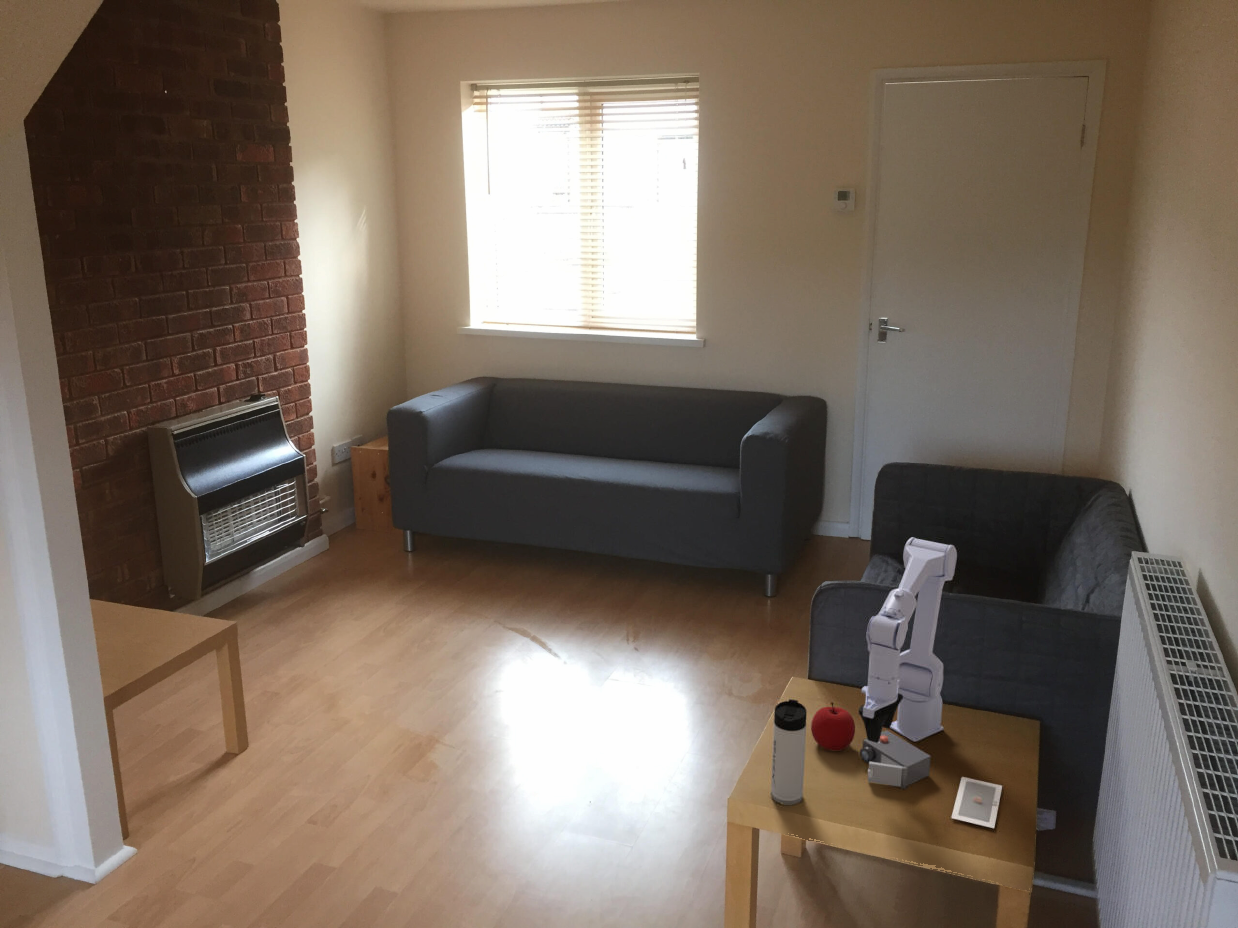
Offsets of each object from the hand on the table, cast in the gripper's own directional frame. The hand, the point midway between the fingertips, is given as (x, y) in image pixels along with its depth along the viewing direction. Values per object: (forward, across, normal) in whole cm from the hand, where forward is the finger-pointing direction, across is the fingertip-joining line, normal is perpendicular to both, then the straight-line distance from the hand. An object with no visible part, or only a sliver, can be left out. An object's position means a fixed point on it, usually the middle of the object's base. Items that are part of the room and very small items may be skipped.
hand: (878, 733), depth 213 cm
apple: (+11, -6, -12) cm, 18 cm away
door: (+10, +1, +3) cm, 11 cm away
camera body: (+10, -6, +2) cm, 12 cm away
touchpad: (+11, -3, +20) cm, 23 cm away
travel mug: (+11, +16, -12) cm, 23 cm away
